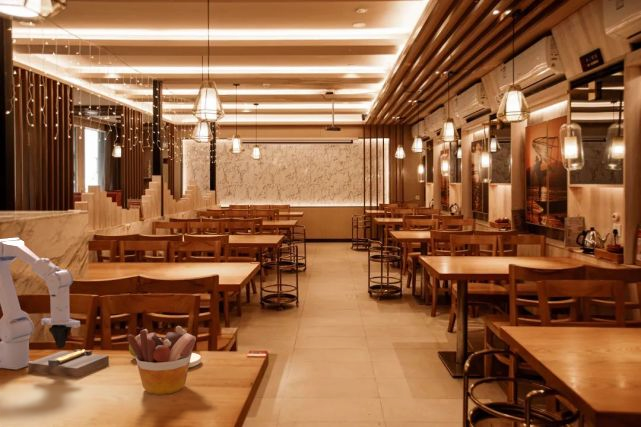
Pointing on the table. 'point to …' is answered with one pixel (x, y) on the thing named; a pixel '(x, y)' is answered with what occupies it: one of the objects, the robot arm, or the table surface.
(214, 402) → the table surface
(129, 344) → the lemon
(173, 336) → the bucket of meat
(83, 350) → the latch bar
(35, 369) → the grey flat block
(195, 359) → the plastic lid
